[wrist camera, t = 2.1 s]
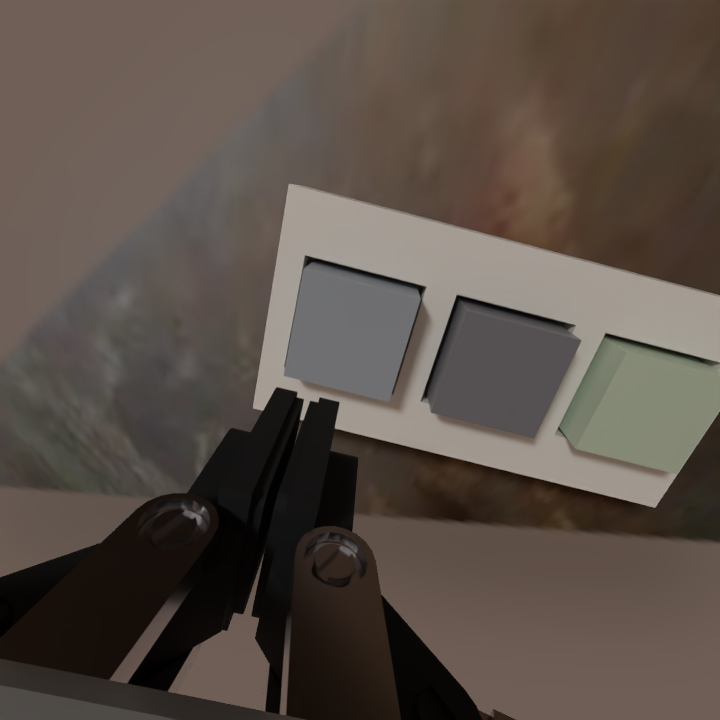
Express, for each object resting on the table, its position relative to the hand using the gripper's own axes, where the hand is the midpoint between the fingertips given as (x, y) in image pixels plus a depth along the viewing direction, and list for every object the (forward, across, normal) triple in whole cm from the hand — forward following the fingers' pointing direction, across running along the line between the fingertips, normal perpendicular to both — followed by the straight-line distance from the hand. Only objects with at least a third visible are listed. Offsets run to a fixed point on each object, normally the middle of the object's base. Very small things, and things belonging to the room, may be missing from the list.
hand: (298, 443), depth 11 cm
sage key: (+10, -15, -1) cm, 18 cm away
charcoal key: (+11, -8, -1) cm, 13 cm away
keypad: (+13, -8, -1) cm, 15 cm away
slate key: (+11, -1, -1) cm, 11 cm away
